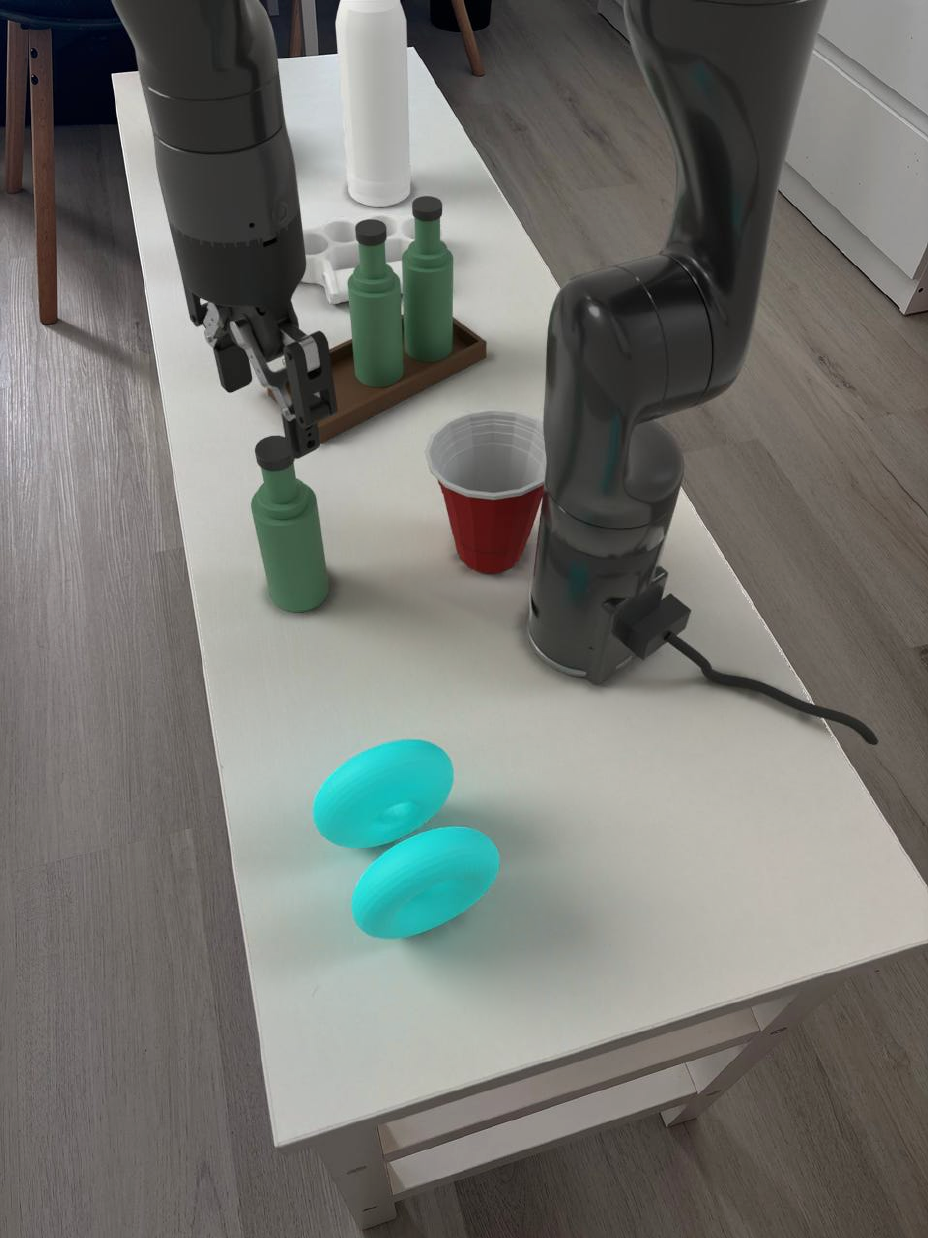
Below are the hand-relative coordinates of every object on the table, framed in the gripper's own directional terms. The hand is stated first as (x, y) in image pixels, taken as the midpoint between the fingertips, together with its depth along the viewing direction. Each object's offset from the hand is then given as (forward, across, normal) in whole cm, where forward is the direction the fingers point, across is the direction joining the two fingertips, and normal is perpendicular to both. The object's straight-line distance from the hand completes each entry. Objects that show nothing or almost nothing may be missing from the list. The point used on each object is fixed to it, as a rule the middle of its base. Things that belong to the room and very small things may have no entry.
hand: (270, 418), depth 69 cm
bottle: (+20, -47, +44) cm, 67 cm away
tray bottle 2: (+18, -18, +28) cm, 39 cm away
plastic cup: (+19, +7, +15) cm, 25 cm away
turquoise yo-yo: (+18, +26, -9) cm, 33 cm away
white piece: (+19, -34, +33) cm, 51 cm away
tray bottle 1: (+18, -18, +22) cm, 34 cm away
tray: (+19, -18, +22) cm, 34 cm away
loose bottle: (+18, 0, 0) cm, 19 cm away
